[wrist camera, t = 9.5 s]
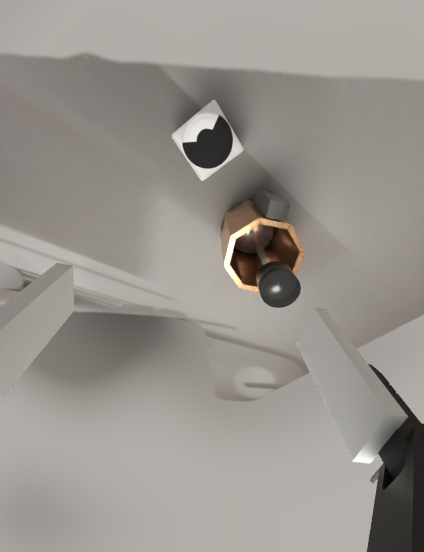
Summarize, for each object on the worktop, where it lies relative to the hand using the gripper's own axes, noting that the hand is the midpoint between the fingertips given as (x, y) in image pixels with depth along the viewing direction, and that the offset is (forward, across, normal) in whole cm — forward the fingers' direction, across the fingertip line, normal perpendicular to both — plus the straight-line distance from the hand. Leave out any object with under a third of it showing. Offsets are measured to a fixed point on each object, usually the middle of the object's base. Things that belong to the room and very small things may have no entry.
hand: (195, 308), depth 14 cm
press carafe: (+33, +9, -2) cm, 35 cm away
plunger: (+32, +10, -3) cm, 34 cm away
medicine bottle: (+34, 0, +9) cm, 35 cm away
